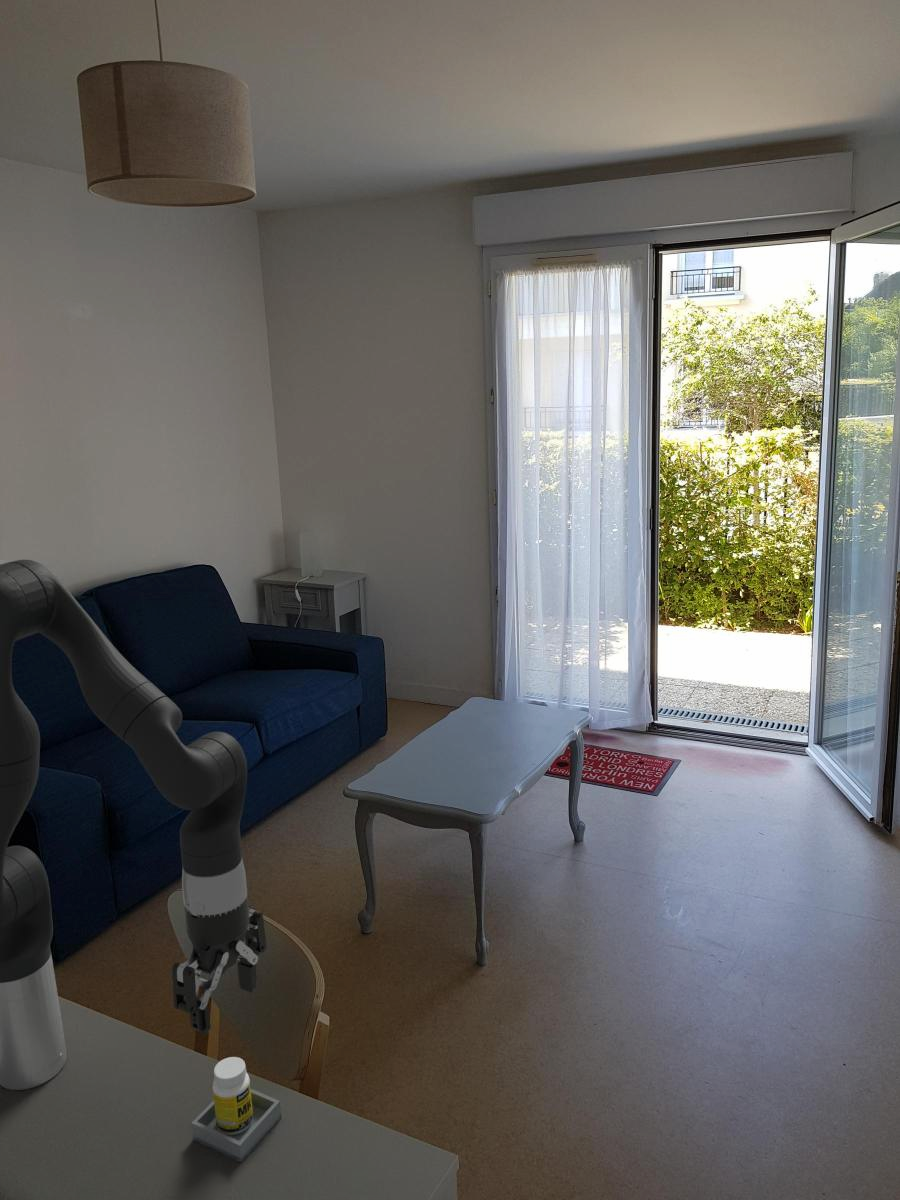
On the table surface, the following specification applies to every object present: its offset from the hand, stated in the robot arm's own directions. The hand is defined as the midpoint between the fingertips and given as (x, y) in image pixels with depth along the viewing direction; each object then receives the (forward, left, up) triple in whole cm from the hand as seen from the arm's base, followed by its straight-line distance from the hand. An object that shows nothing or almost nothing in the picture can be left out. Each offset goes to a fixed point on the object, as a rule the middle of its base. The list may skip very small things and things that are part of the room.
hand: (225, 1009), depth 117 cm
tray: (0, 0, -18) cm, 18 cm away
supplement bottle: (0, 0, -18) cm, 18 cm away
